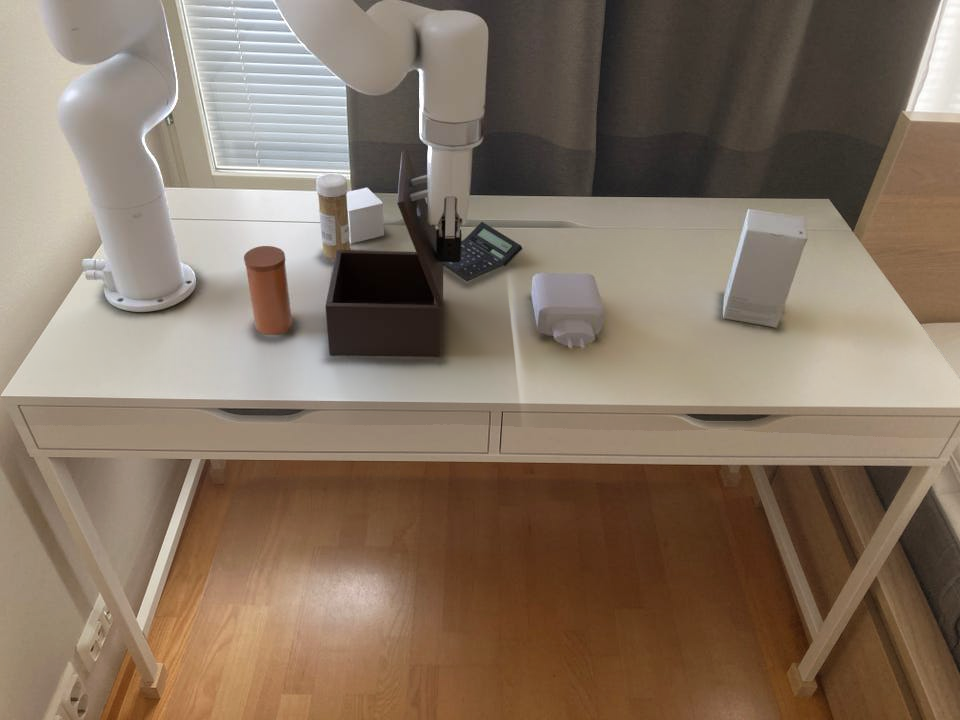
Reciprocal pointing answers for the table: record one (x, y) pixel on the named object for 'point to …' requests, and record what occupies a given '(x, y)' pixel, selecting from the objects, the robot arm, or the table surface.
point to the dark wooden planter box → (381, 306)
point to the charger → (567, 307)
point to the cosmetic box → (764, 267)
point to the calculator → (483, 252)
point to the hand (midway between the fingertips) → (448, 258)
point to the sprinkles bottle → (333, 213)
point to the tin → (268, 289)
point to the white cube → (364, 215)
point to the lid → (420, 224)
